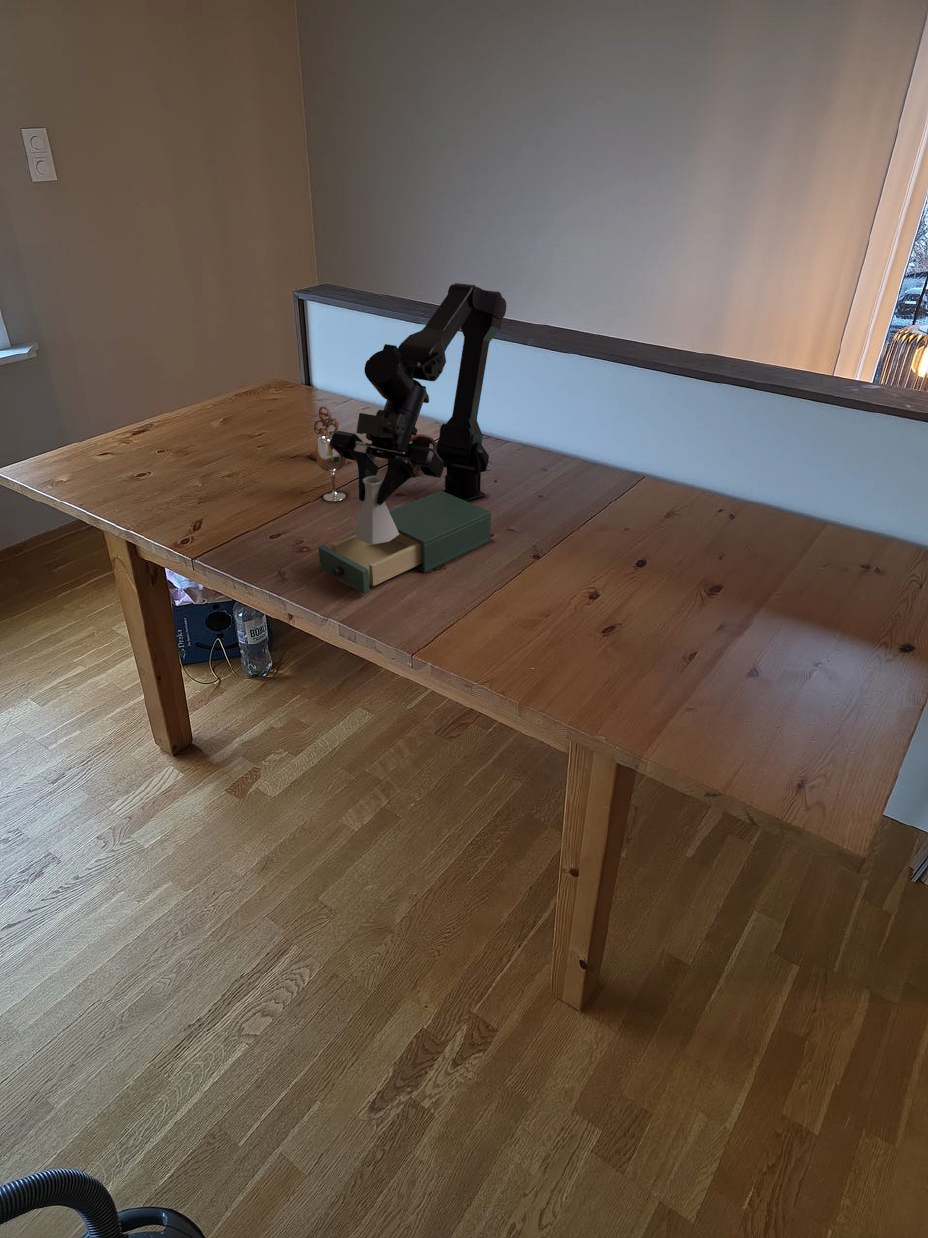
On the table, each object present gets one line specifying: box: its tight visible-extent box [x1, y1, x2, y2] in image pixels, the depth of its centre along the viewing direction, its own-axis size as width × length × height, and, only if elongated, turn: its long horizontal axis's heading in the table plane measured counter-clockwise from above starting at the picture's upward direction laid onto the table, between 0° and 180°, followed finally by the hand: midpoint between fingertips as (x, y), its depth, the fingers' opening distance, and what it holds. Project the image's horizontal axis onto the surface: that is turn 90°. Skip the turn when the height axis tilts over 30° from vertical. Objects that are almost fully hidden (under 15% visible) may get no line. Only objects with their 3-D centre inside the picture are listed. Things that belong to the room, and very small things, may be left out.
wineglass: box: [315, 435, 347, 502], centre depth 158 cm, size 6×6×12 cm
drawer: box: [317, 533, 422, 595], centre depth 135 cm, size 17×12×4 cm
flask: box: [353, 475, 399, 544], centre depth 131 cm, size 7×7×10 cm
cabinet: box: [389, 490, 492, 573], centre depth 144 cm, size 16×13×6 cm
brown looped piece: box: [309, 406, 349, 465], centre depth 175 cm, size 9×4×12 cm, turn 47°
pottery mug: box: [407, 433, 437, 472], centre depth 174 cm, size 12×10×8 cm
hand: (369, 502), depth 129 cm, fingers closed on flask, 3 cm apart
